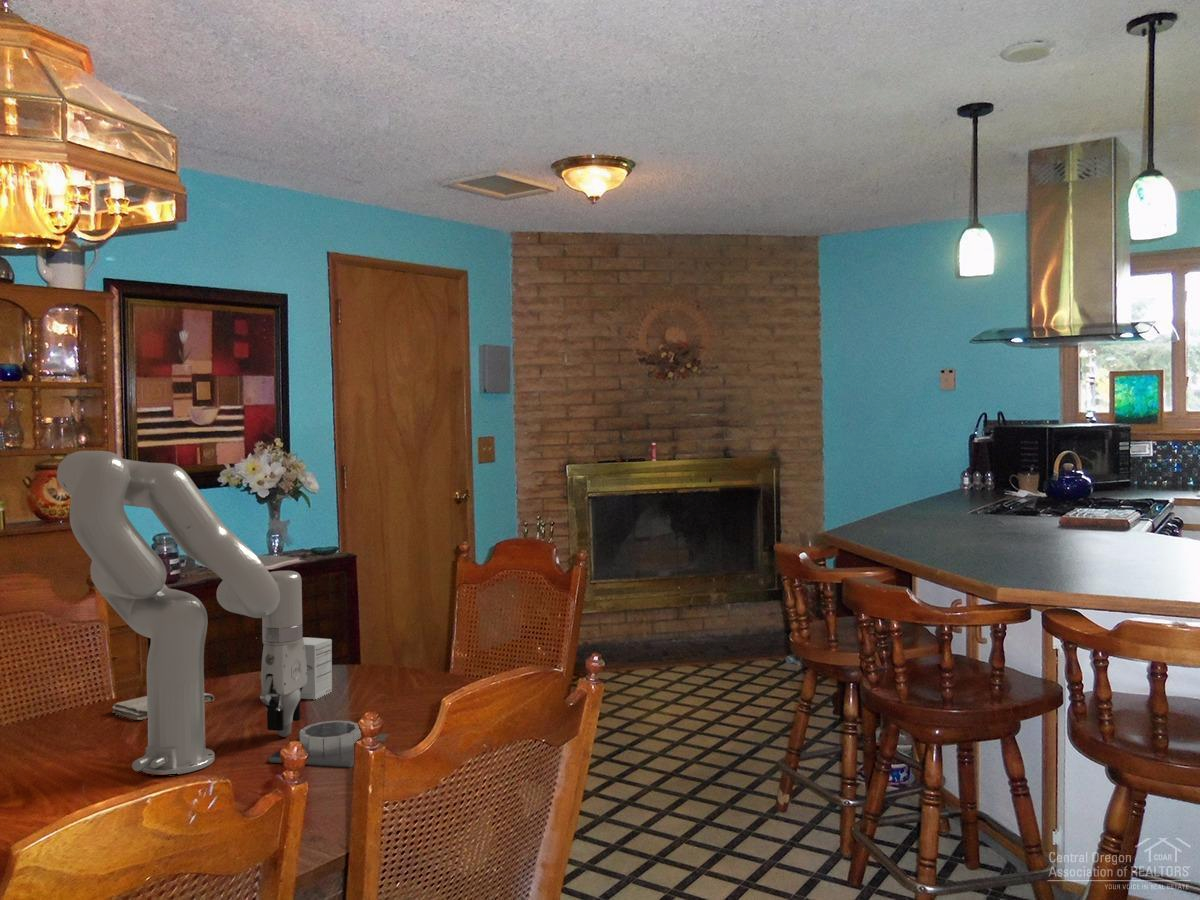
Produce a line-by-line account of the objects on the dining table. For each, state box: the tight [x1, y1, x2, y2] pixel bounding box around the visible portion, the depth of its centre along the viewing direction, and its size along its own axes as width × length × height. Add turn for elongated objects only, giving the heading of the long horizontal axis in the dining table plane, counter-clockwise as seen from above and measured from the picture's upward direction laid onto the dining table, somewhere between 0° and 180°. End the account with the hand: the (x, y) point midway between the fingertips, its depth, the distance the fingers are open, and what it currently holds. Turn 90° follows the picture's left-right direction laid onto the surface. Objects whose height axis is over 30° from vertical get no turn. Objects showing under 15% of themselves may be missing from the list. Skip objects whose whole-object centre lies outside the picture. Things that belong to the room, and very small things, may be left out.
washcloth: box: [111, 692, 215, 721], centre depth 212 cm, size 12×18×3 cm, turn 146°
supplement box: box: [301, 637, 333, 701], centre depth 221 cm, size 7×7×13 cm
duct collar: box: [268, 720, 389, 769], centre depth 182 cm, size 16×16×4 cm
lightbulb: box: [272, 689, 301, 738], centre depth 190 cm, size 6×6×11 cm
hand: (284, 724), depth 190 cm, fingers closed on lightbulb, 5 cm apart
